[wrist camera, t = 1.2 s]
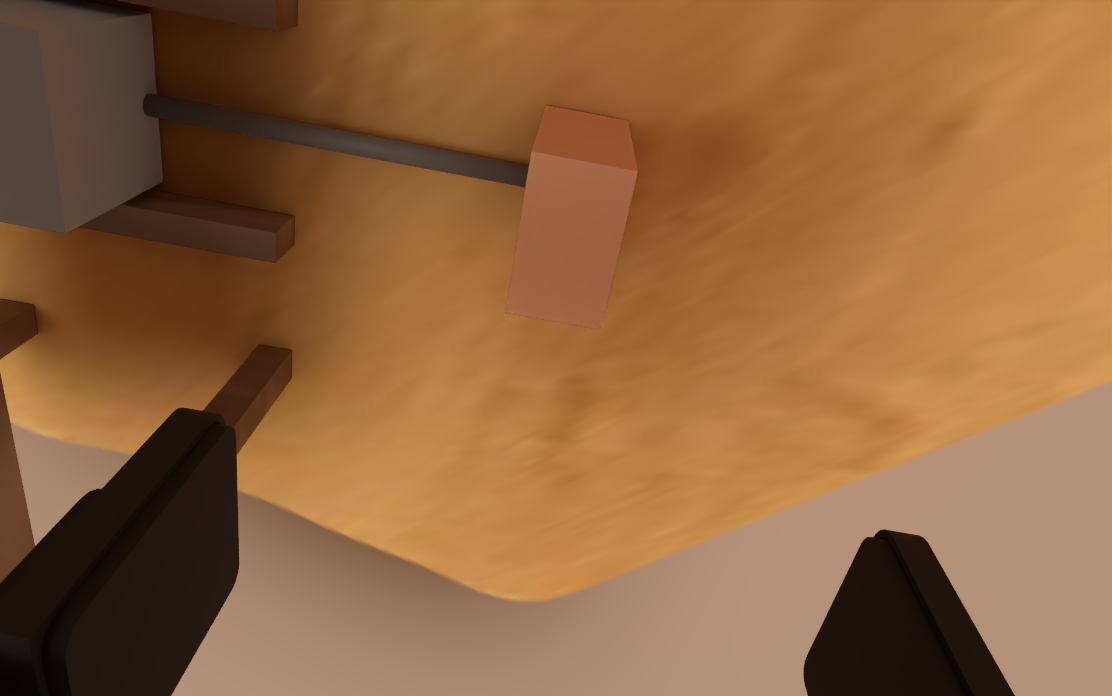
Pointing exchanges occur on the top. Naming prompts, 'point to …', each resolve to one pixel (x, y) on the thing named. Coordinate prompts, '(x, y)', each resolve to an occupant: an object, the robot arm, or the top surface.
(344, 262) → the top surface
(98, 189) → the lopsided dumbbell
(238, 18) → the wooden side table
